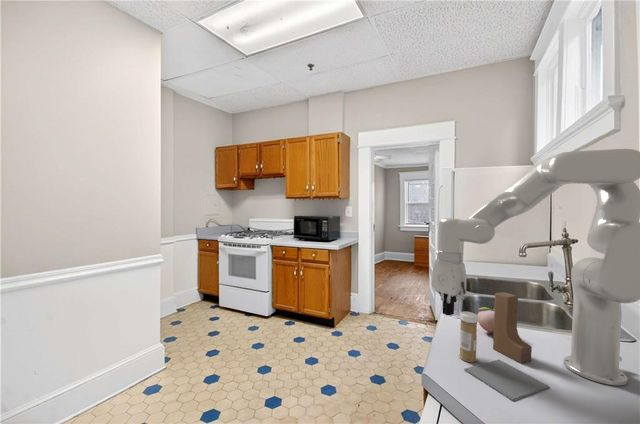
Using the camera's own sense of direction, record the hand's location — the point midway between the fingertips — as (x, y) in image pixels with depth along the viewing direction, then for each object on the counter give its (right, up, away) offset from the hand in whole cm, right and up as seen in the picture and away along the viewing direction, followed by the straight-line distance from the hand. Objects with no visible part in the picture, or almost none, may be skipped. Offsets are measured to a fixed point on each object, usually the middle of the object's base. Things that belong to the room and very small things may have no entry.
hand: (448, 314), depth 89 cm
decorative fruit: (+20, -11, +10) cm, 25 cm away
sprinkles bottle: (+3, -11, -7) cm, 13 cm away
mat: (+7, -11, -16) cm, 21 cm away
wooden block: (+18, -11, -4) cm, 21 cm away
